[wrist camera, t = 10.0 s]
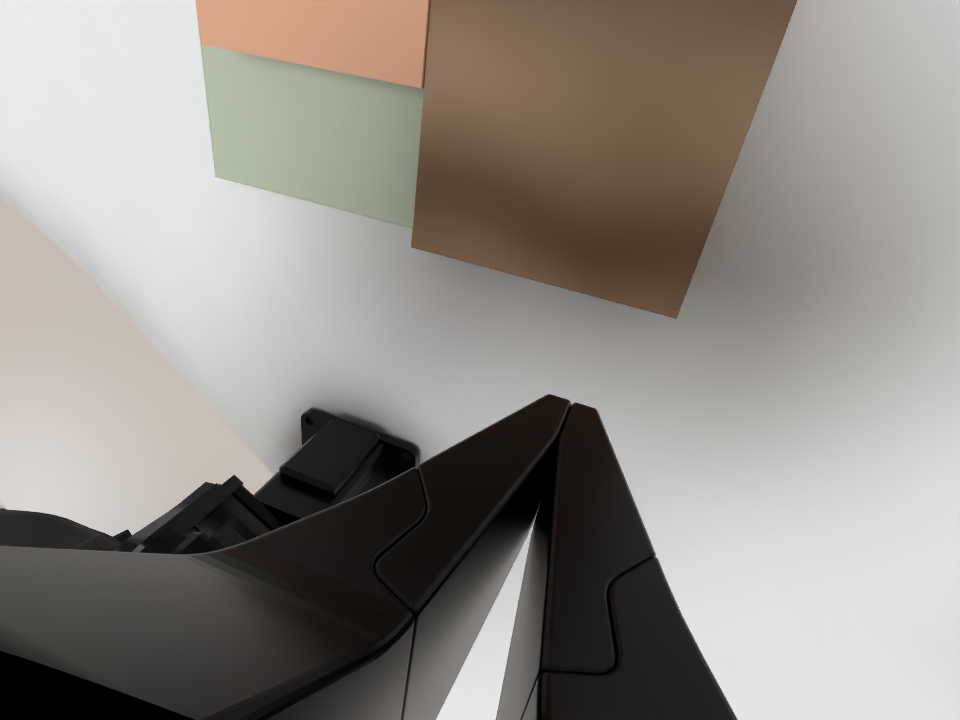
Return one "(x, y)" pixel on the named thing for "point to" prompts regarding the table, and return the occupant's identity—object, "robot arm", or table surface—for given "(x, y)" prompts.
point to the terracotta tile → (325, 34)
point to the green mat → (314, 133)
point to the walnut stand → (588, 136)
